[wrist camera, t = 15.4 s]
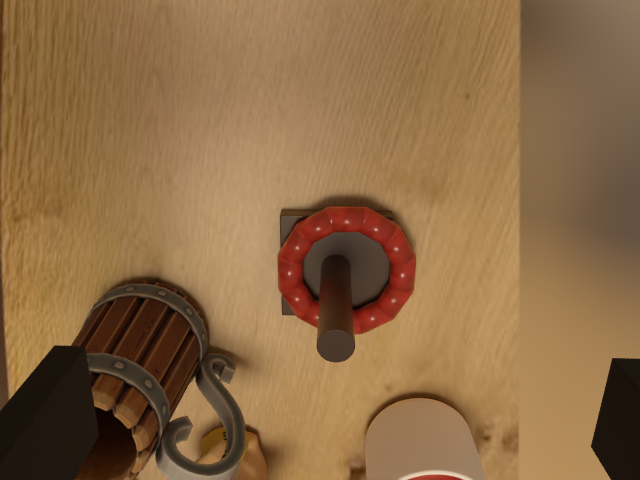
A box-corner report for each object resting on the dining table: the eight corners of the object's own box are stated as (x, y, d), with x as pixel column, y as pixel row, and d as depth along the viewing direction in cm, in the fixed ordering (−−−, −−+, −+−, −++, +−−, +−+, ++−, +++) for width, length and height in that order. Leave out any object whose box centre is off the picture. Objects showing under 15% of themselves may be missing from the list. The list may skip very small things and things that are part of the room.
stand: (283, 307, 50) (265, 404, 37) (281, 209, 46) (261, 279, 34) (386, 309, 50) (404, 407, 37) (391, 210, 46) (412, 282, 34)
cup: (423, 491, 57) (440, 584, 48) (343, 443, 55) (344, 529, 46) (490, 426, 54) (523, 511, 44) (408, 372, 52) (424, 450, 43)
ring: (280, 325, 49) (278, 337, 47) (277, 202, 45) (275, 210, 43) (409, 327, 48) (412, 339, 47) (417, 203, 44) (421, 212, 43)
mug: (80, 356, 52) (-14, 479, 38) (110, 258, 48) (19, 355, 34) (240, 413, 54) (207, 550, 40) (280, 323, 50) (260, 440, 36)
